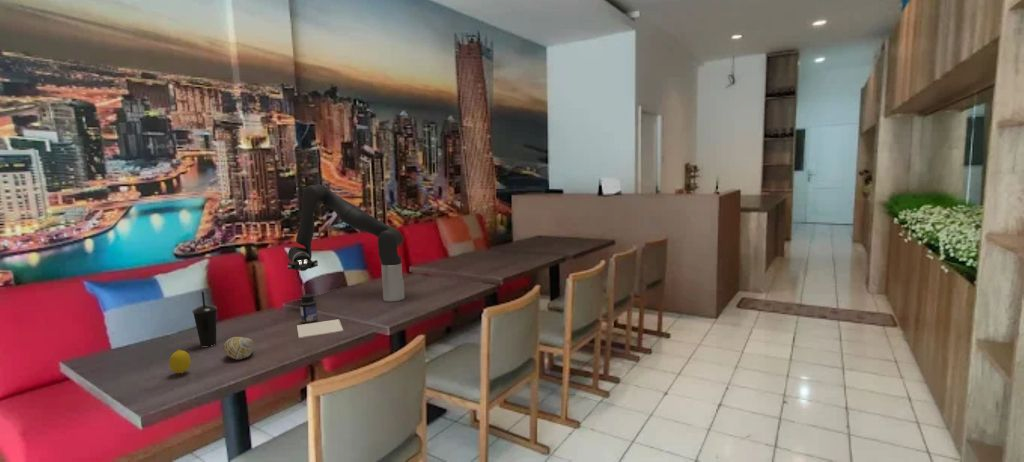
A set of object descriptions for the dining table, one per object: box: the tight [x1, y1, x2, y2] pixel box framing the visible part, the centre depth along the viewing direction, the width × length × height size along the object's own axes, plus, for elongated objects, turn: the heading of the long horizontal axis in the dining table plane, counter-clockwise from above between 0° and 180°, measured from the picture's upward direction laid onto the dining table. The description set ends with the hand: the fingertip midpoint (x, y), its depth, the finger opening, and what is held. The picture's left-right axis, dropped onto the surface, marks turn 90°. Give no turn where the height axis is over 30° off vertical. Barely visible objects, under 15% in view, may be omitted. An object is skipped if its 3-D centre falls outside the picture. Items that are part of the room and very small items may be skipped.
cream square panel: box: [296, 318, 344, 339], centre depth 199 cm, size 16×15×1 cm
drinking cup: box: [191, 291, 218, 347], centre depth 183 cm, size 8×8×20 cm
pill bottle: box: [299, 293, 319, 324], centre depth 208 cm, size 6×6×11 cm
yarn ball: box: [223, 335, 254, 360], centre depth 173 cm, size 10×10×10 cm
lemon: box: [169, 349, 192, 374], centre depth 159 cm, size 6×6×8 cm
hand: (303, 268), depth 215 cm, fingers closed
